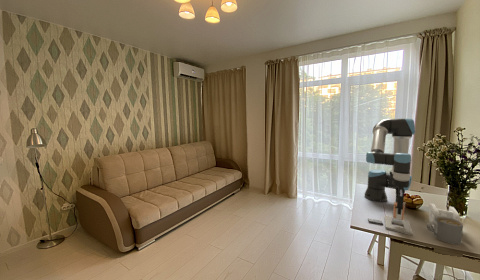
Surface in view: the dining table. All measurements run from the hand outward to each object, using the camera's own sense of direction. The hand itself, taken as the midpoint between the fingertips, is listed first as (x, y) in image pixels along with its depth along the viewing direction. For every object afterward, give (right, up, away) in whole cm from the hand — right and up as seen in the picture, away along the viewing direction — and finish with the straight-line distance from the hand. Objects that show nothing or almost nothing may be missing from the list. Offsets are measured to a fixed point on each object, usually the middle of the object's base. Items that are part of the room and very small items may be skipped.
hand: (398, 217), depth 114 cm
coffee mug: (+16, -7, -10) cm, 20 cm away
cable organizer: (+26, -6, 0) cm, 26 cm away
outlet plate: (+1, -6, +1) cm, 6 cm away
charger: (0, 0, 0) cm, 0 cm away
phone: (-10, -6, +5) cm, 13 cm away
